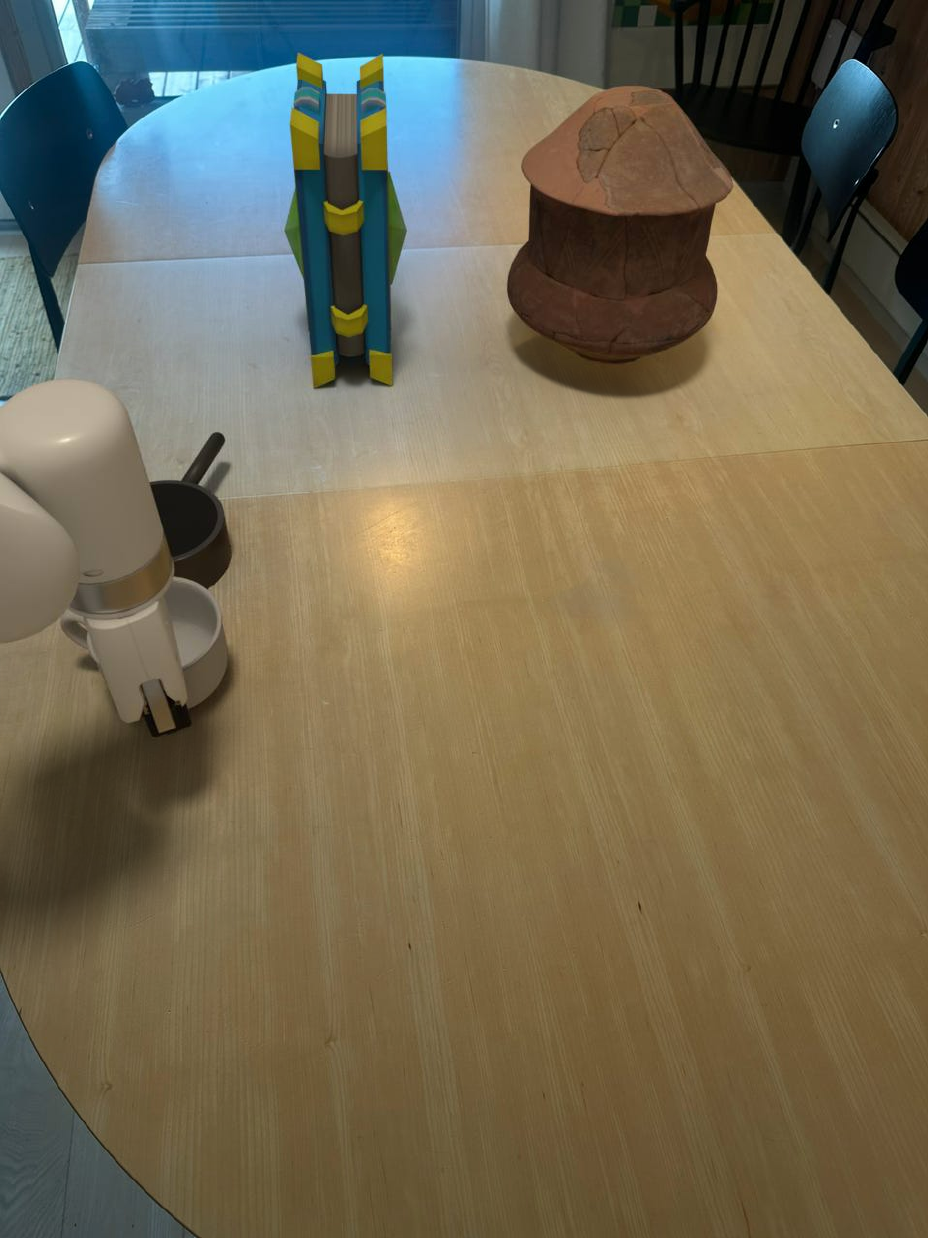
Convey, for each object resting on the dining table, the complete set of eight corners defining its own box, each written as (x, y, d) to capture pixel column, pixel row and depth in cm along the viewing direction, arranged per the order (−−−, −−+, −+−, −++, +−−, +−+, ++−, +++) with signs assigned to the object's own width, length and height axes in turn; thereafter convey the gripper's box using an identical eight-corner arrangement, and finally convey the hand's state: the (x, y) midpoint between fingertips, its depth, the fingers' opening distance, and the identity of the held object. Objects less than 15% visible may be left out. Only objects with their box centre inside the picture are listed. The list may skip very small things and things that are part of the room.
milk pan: (83, 589, 92) (69, 551, 88) (173, 457, 106) (165, 419, 102) (203, 612, 91) (194, 574, 87) (278, 475, 104) (273, 437, 101)
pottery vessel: (715, 411, 116) (785, 152, 93) (501, 399, 116) (521, 138, 93) (689, 300, 133) (744, 60, 111) (504, 290, 133) (521, 47, 111)
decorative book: (404, 296, 131) (402, 50, 109) (411, 395, 115) (410, 131, 93) (298, 297, 130) (274, 48, 108) (290, 397, 114) (260, 130, 92)
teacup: (257, 660, 87) (246, 598, 81) (189, 751, 80) (171, 691, 74) (127, 612, 90) (107, 550, 84) (51, 696, 83) (23, 634, 78)
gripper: (36, 504, 66) (106, 670, 80) (68, 662, 57) (140, 818, 71) (147, 478, 68) (196, 644, 82) (194, 626, 60) (240, 784, 73)
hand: (170, 724), depth 77 cm, fingers closed
